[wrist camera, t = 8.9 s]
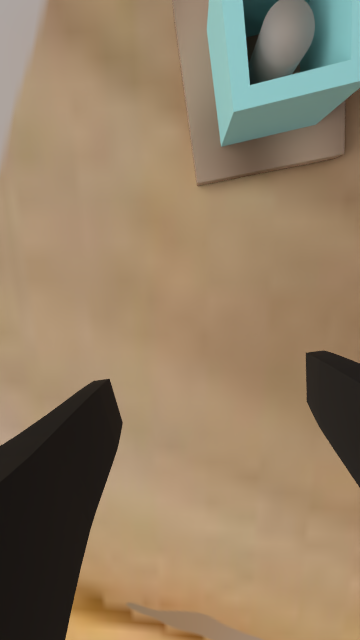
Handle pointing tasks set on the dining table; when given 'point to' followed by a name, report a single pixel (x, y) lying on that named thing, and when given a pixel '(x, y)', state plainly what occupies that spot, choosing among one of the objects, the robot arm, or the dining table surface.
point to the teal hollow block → (289, 91)
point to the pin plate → (208, 119)
